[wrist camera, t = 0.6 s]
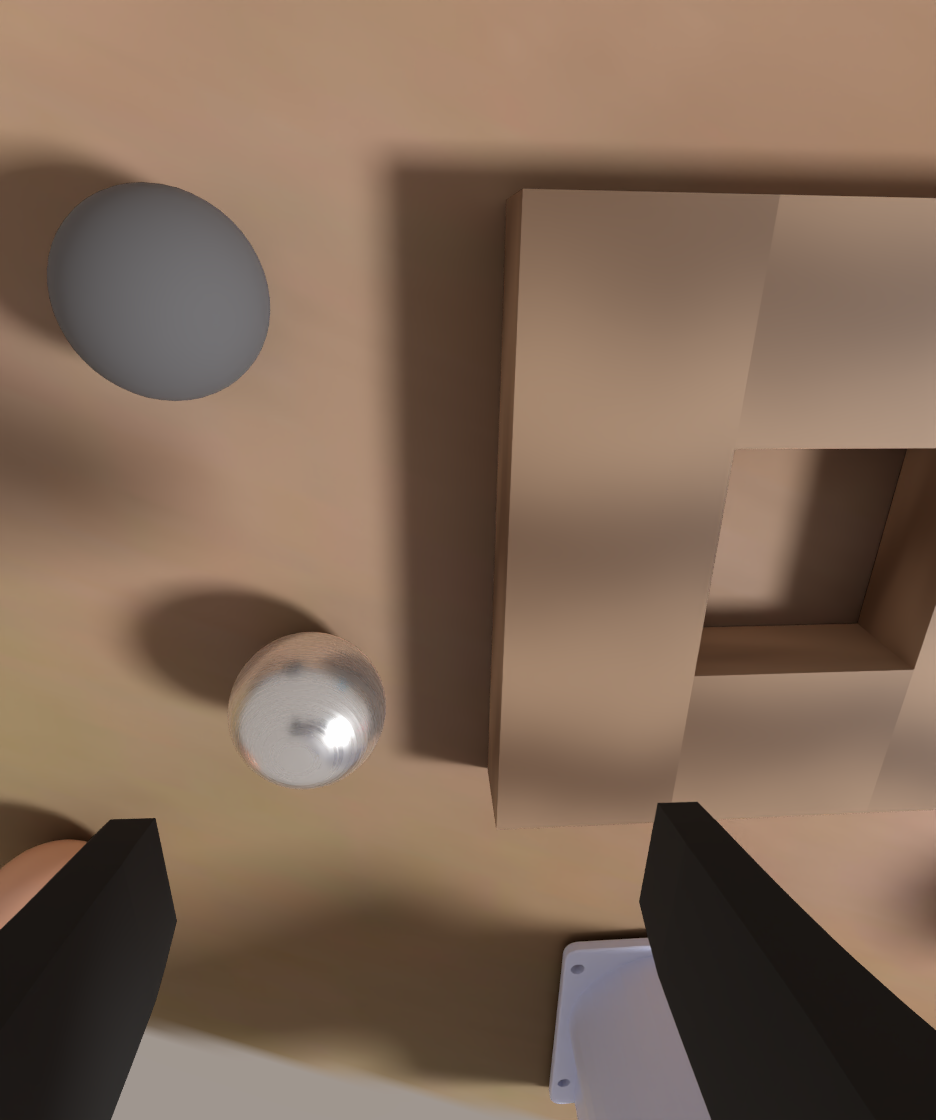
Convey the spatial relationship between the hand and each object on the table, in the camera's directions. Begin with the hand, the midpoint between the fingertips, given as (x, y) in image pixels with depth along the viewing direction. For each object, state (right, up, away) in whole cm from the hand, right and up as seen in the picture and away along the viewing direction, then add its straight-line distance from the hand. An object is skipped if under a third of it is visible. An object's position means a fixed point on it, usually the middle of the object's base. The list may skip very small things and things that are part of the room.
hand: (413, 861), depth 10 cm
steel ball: (-3, +1, +8) cm, 8 cm away
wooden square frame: (+10, +5, +9) cm, 14 cm away
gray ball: (-5, +10, +4) cm, 11 cm away
